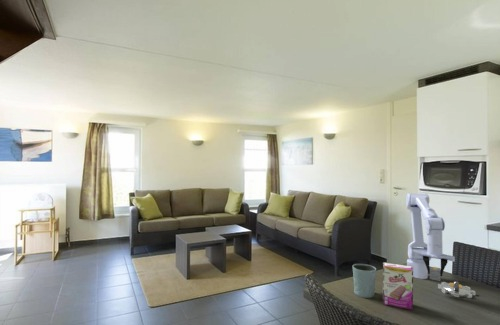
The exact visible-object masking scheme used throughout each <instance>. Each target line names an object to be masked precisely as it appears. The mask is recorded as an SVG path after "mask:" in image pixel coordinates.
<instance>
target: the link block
mask: <svg viewBox="0 0 500 325" xmlns="http://www.w3.org/2000/svg"><path fill="white" fill-rule="evenodd" d="M440 270H441V267H436V266H430V274H429V280H433V281H439V282H441V276H440Z"/></svg>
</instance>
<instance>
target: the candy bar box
mask: <svg viewBox="0 0 500 325" xmlns="http://www.w3.org/2000/svg"><path fill="white" fill-rule="evenodd" d="M382 265H383V267H382V304H383V305H385V306H390V307H395V308H400V309H401V308H402V309H406V310H411V311H413V310H414V306H413V305H414V277H413V268H412V267H411V266H407V265H405V264H404V265H403V264H396V263H389V262H382Z"/></svg>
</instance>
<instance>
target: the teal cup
mask: <svg viewBox="0 0 500 325" xmlns="http://www.w3.org/2000/svg"><path fill="white" fill-rule="evenodd" d="M352 273H353V274H352V277H353V278H352V279H353V292H354V294H355V295H356V296H358V297H360V298H364V299H365V298H367V299H371V298H373V297H375V289H376V288H375V286H376V277H377V268H376V267H375V266H373V265H371V264H365V263H354V264H353V265H352Z"/></svg>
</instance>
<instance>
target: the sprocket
mask: <svg viewBox="0 0 500 325" xmlns="http://www.w3.org/2000/svg"><path fill="white" fill-rule="evenodd" d="M440 282H441V283H437V288H438V289H439V290H441V292H442V293H443V294H449V295H452V296H454V297H456V298H460V297H464V298H468V299H473V296H476V290H472V289H471V287H470V286H467V285H465V286H464V285H462V284H460V282H459V281H457V280H456V281H455V280H454V281H453V282H446V281H440Z"/></svg>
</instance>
